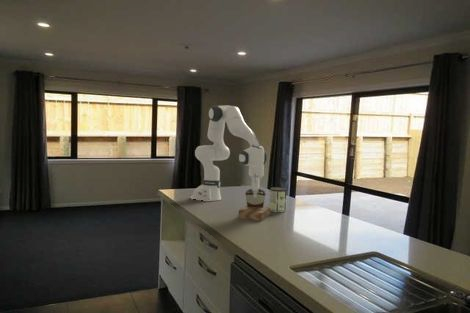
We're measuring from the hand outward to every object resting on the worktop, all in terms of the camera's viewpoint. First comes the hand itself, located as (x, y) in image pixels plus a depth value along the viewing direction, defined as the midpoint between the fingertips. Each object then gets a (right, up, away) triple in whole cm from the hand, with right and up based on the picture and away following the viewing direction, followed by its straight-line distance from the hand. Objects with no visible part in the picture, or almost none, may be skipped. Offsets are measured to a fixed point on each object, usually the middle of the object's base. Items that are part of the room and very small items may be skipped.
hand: (255, 196), depth 202 cm
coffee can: (+15, -11, +19) cm, 27 cm away
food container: (0, -6, +3) cm, 7 cm away
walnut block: (0, -12, +1) cm, 12 cm away
